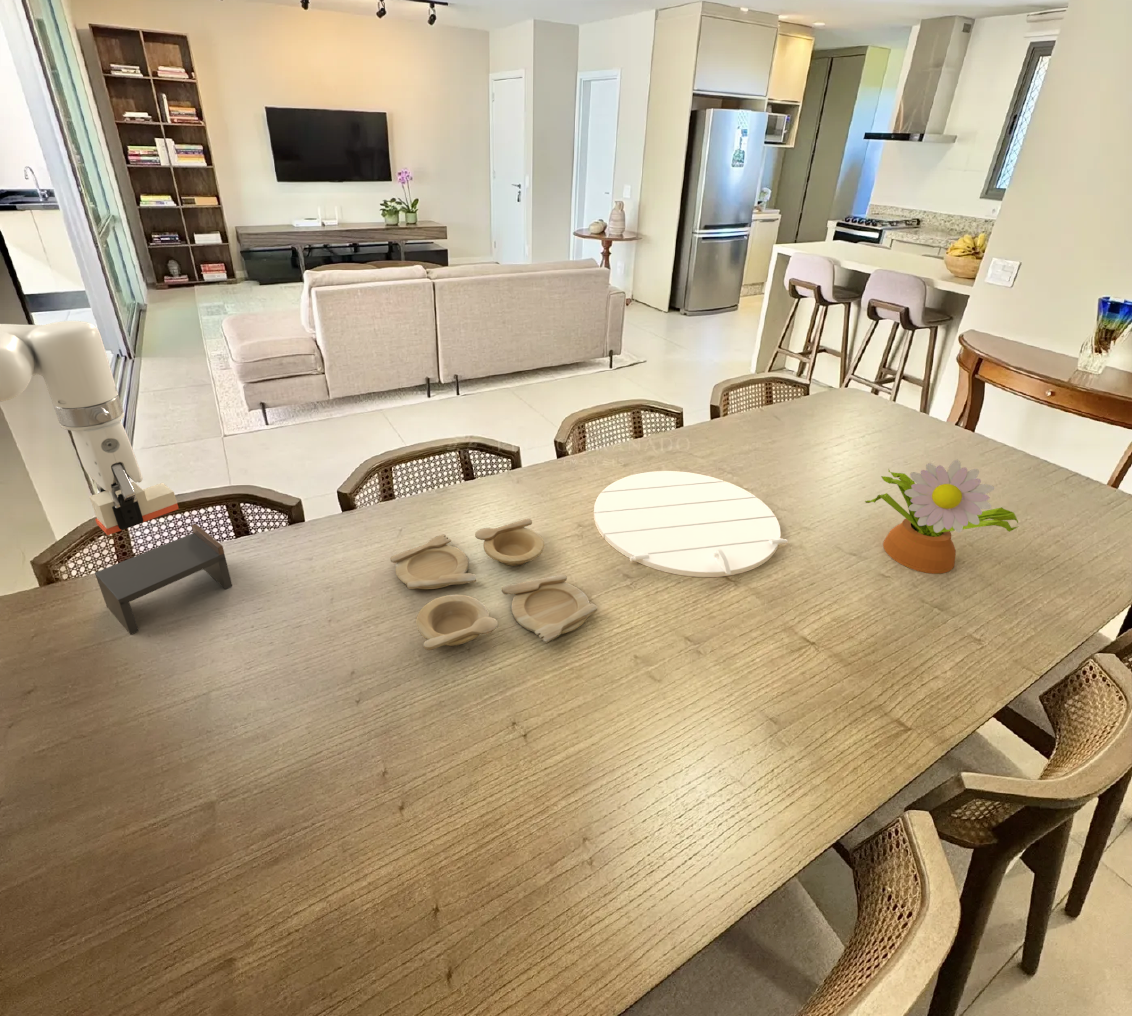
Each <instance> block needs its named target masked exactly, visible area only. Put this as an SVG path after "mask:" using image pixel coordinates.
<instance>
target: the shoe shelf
mask: <svg viewBox="0 0 1132 1016" xmlns="http://www.w3.org/2000/svg"><path fill="white" fill-rule="evenodd" d="M191 529H192V533H190V534H187V535H185V536H182V537H180V538H177V539H175V540H172V541H170V542H167V543H165V544H162V545H160V546H158V547H155V548H153V549H150V550H148V551H145V552H143V553H140V554H138V555H135V556H133V557H129V558H128V559H125V560H122V561H120V562H117V563H115V564H113V565H110V566H108V567H105V568H103V569H101V570H98V571H96V572H94V576H95V578H96V581H97V585H98V587H99V590H100V592H101V595H102V597H103V600H104V603H105V606H106V608H107V609H108V610H109V611H110V612H111V613H112V615H113V616H114V617H115V618H116V619H117V621H118V622H119V623H120V624H121V625H122V626H123V628H124V629H125V630H126V631H127V632H128V634H129V635H130V636H131V635H133V634H136V633H137V632H139V627H138V624H137V621H136V619H135V616H134V612H133V610H132V607H131V604H130V602H132V601H135V600H137V599H139V598H141V597H144V596H147V595H148V594H150V593H152V592H155V591H157V590H160V589H162V588H164V587H166V586H169V585H171V584H173V583H176V582H178V581H180V580H181V579H185V578H186V577H189V576H191V575H193V574H196V573H198V572H201V571H202V570H203V571H205V572H206V573H207V575H209V576H210V577H211V578H212V579H213V580H215V581H216V582H217V583H218V584H219V585H220V587H223V589H224V590H227V589H230V588H231V587H233V583H232V579H231V574H230V571H229V567H228V562H227V559H226V555H225V549H224V546H223V545H222V544H221V543H220V542H219V541H217V539H215V538H214V537H213V536H211V535H210V534H209V533H208V532H207V531H205V530H204V529H203V527H201V526H199V525H198V524H197V523H194V524H191Z"/></svg>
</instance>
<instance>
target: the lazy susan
mask: <svg viewBox="0 0 1132 1016" xmlns="http://www.w3.org/2000/svg"><path fill="white" fill-rule="evenodd" d="M593 520H594V524H595V527H596V529H597V531H598V532H599V534H600V535H601V537H602V538H603V539H604V541H606V542H607V544H609V545H610V547H612V548H613V549H614V550H616V551H617V552H619V553H620V554H622V555H623V556H625V557H627V558H628V559H629V562H636V563H638V564H640V565H643V566H646V567H648V568H651V569H654V570H657V571H660V572H665V573H668V574H673V575H678V576H685V577H694V578H695V577H696V578H719V577H728V576H734V575H739V574H743V573H747V572H750V571H752V570H754V569H756V568H758V567H760V566H762V565H763V564H765V563H767V562H768V561H769V560H770V559H771V558H772V557H773V556H774V555H775V553H776V551H777V549H778V548H779V546H780V545H787V544H788V543H789V542H788V539H787V538H786V539H784V538H781V534H782V533H781V525H780V523H779V520H778V518H777V517H776V515H775V513H774V511H772V509H771V508H770V507H769V506H768V505H767V504H765V502H764V501H762V499H760V498H759V497H757V496H756V495H754V494H753V493H751V492H749V491H748V490H746V489H744V488H743V487H740V486H738V485H736V484H733V483H732V482H729V481H725V480H724V479H723V480H722V479H720V478H717V477H713V476H710V475H705V474H700V473H695V472H688V471H678V470H677V471H676V470H656V471H645V472H639V473H634V474H631V475H628V476H625V477H622V478H620V479H618V480H615V481H614V482H612V483H610V484H609V485H607V486H606V487H605V488H604V489H603V490H602V491H601V492H600V493H599V494H598V496H597V497H596V500H595V501H594V506H593Z"/></svg>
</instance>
